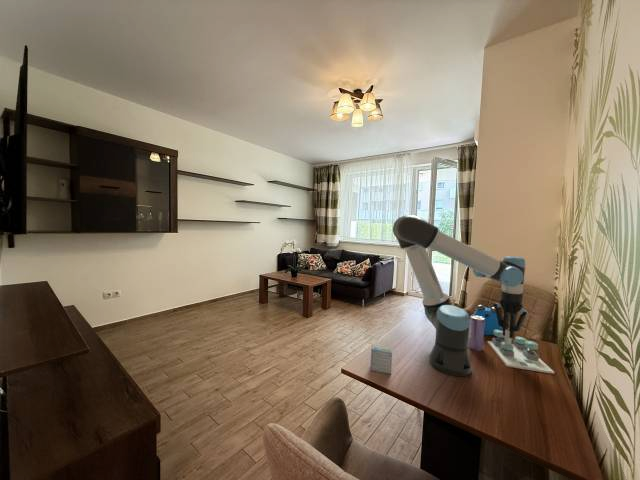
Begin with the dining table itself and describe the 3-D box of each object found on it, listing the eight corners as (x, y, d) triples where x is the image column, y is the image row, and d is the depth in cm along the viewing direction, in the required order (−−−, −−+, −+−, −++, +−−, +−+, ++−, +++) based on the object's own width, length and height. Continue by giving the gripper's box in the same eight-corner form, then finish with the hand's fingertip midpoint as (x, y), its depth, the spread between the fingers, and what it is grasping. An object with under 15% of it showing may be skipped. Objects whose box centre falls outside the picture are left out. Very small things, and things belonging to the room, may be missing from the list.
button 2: (527, 353, 108) (528, 344, 108) (522, 348, 113) (523, 340, 112) (539, 355, 107) (540, 346, 107) (534, 350, 112) (535, 341, 111)
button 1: (502, 354, 111) (503, 345, 111) (498, 349, 115) (499, 341, 115) (514, 356, 110) (515, 347, 110) (510, 351, 114) (510, 342, 114)
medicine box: (391, 368, 100) (392, 347, 100) (391, 374, 96) (392, 352, 95) (371, 364, 102) (371, 344, 102) (370, 370, 98) (371, 349, 98)
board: (507, 366, 104) (507, 359, 104) (487, 342, 125) (488, 336, 125) (554, 373, 100) (554, 366, 99) (525, 347, 121) (526, 341, 121)
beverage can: (484, 352, 115) (487, 320, 114) (470, 350, 116) (473, 319, 115) (479, 346, 121) (481, 315, 120) (465, 344, 122) (468, 314, 121)
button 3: (495, 341, 120) (495, 332, 119) (491, 337, 124) (492, 329, 123) (506, 342, 118) (506, 334, 118) (502, 338, 123) (502, 330, 122)
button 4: (517, 348, 117) (517, 339, 117) (512, 343, 122) (513, 335, 121) (528, 349, 116) (529, 341, 116) (523, 345, 120) (524, 337, 120)
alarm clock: (500, 334, 134) (503, 307, 133) (500, 338, 129) (502, 310, 128) (472, 328, 142) (474, 302, 141) (471, 331, 137) (473, 304, 136)
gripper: (534, 294, 107) (529, 348, 108) (499, 287, 118) (496, 336, 120) (525, 296, 103) (520, 352, 105) (491, 289, 114) (487, 339, 116)
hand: (507, 343), depth 112 cm, fingers closed
